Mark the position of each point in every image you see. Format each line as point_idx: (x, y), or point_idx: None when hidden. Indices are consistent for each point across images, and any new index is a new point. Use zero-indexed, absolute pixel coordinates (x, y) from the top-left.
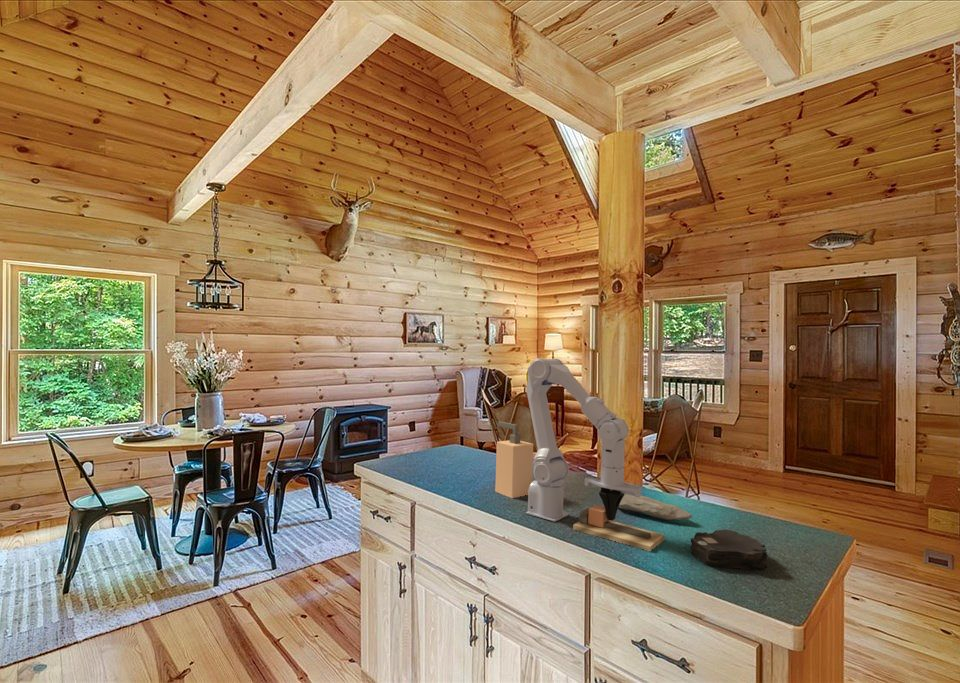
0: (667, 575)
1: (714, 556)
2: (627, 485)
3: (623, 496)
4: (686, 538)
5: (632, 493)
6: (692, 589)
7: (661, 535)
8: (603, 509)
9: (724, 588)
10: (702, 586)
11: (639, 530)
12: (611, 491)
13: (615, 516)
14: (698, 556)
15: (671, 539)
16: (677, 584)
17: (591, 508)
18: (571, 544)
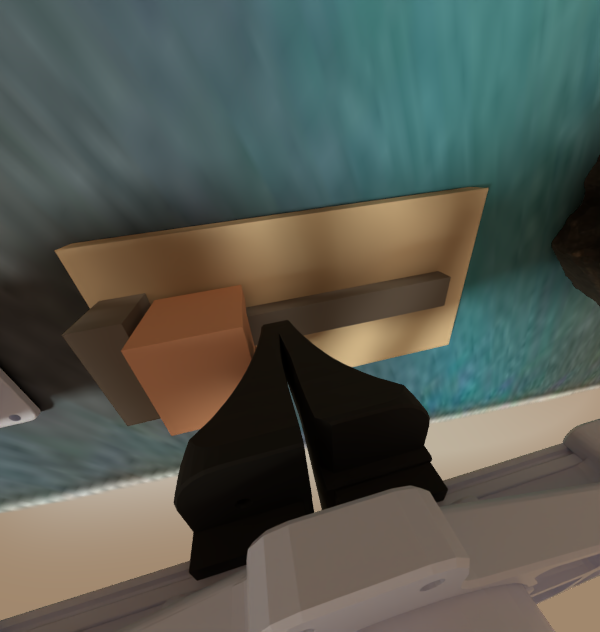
0: (482, 398)
1: None
2: (565, 533)
3: (389, 384)
4: (566, 57)
5: (549, 485)
6: (522, 403)
7: (475, 209)
8: (233, 382)
9: (579, 358)
10: (541, 382)
11: (404, 290)
12: (312, 508)
13: (292, 324)
14: (574, 275)
15: (496, 151)
16: (499, 409)
17: (177, 423)
18: None
